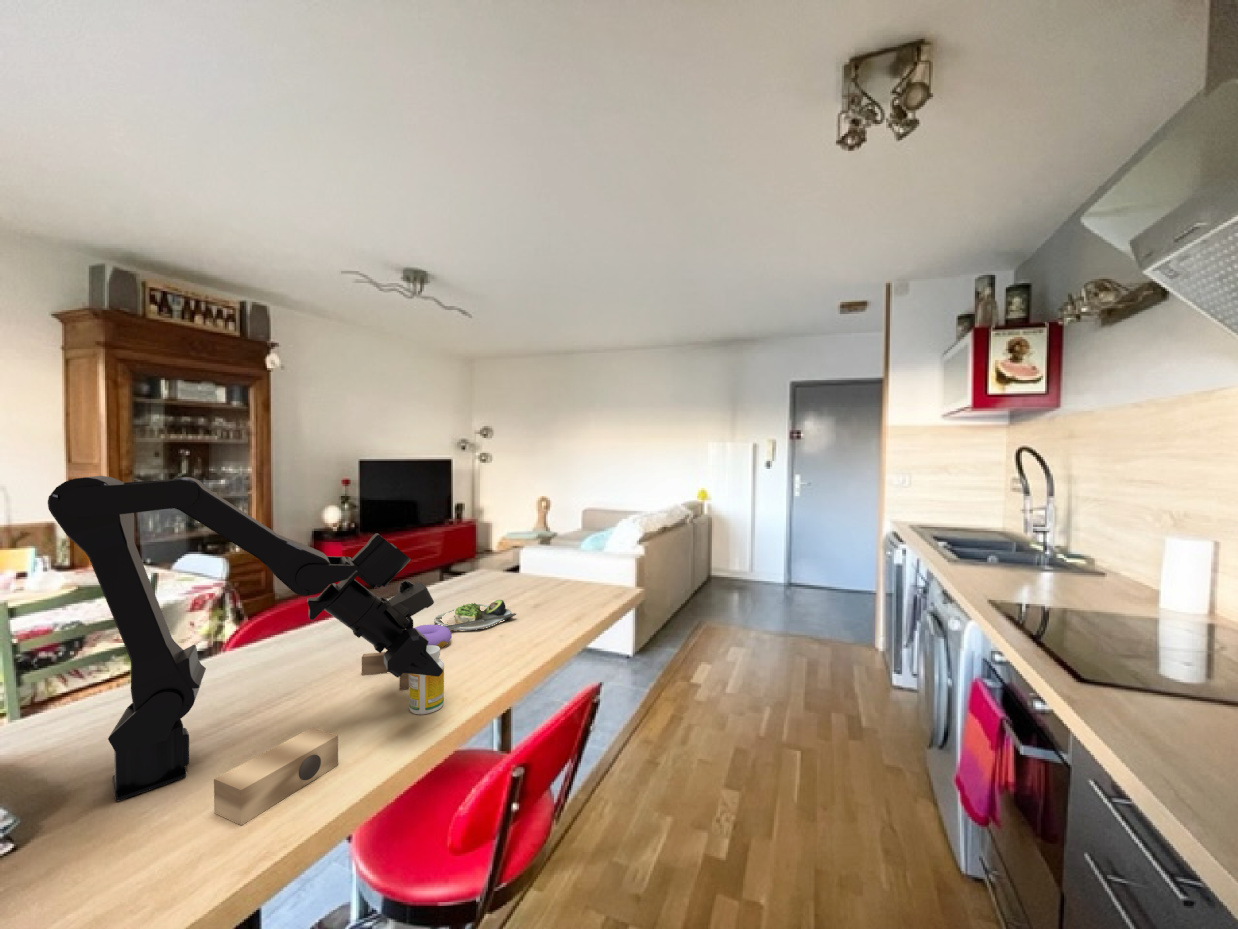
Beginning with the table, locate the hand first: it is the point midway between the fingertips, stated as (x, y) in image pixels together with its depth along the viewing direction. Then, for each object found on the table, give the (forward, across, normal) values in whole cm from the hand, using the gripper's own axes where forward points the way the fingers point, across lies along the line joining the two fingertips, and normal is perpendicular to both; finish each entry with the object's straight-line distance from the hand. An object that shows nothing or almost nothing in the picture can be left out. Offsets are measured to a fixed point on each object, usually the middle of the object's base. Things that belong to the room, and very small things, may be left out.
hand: (435, 665), depth 83 cm
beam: (-10, -11, +20) cm, 25 cm away
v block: (+3, +16, +7) cm, 17 cm away
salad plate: (+19, +40, -8) cm, 45 cm away
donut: (+8, +28, +2) cm, 30 cm away
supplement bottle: (+4, 0, +6) cm, 7 cm away
